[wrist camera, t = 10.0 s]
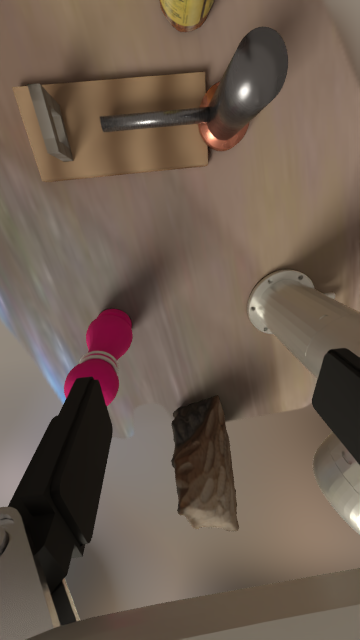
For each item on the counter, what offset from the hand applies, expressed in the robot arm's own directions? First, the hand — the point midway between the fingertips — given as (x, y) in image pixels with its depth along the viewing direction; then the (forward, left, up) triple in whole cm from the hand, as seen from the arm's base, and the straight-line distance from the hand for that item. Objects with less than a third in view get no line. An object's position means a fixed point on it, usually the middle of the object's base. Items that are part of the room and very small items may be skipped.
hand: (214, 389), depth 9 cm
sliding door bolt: (-3, -16, -29) cm, 33 cm away
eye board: (+5, -16, -30) cm, 34 cm away
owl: (-3, +38, -30) cm, 49 cm away
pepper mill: (+12, +11, -30) cm, 34 cm away
